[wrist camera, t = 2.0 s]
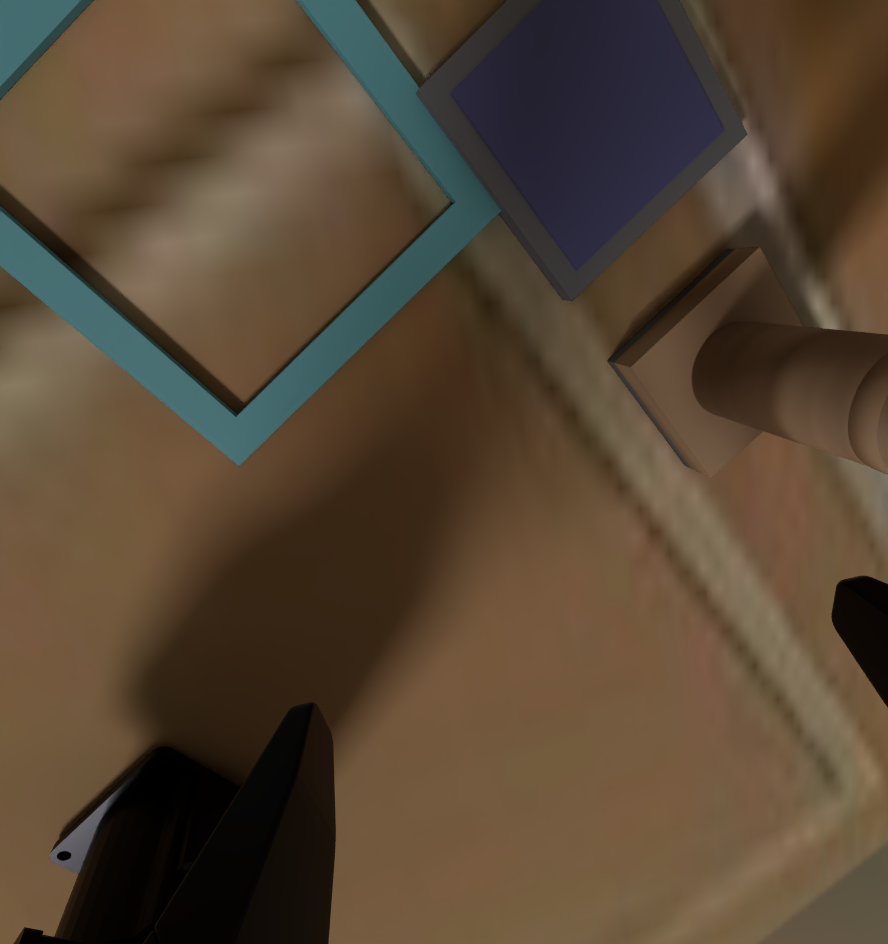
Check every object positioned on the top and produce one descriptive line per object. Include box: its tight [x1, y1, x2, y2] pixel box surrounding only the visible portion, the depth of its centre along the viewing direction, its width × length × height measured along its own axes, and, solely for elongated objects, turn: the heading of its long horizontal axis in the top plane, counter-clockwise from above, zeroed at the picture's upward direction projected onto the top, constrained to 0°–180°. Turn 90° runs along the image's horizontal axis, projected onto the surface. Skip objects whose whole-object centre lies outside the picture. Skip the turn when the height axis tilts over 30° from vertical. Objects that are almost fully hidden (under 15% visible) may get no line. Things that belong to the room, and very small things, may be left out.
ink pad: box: [416, 0, 747, 301], centre depth 18 cm, size 8×8×1 cm
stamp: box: [608, 247, 888, 478], centre depth 18 cm, size 6×6×10 cm
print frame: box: [0, 0, 501, 466], centre depth 17 cm, size 12×12×1 cm
